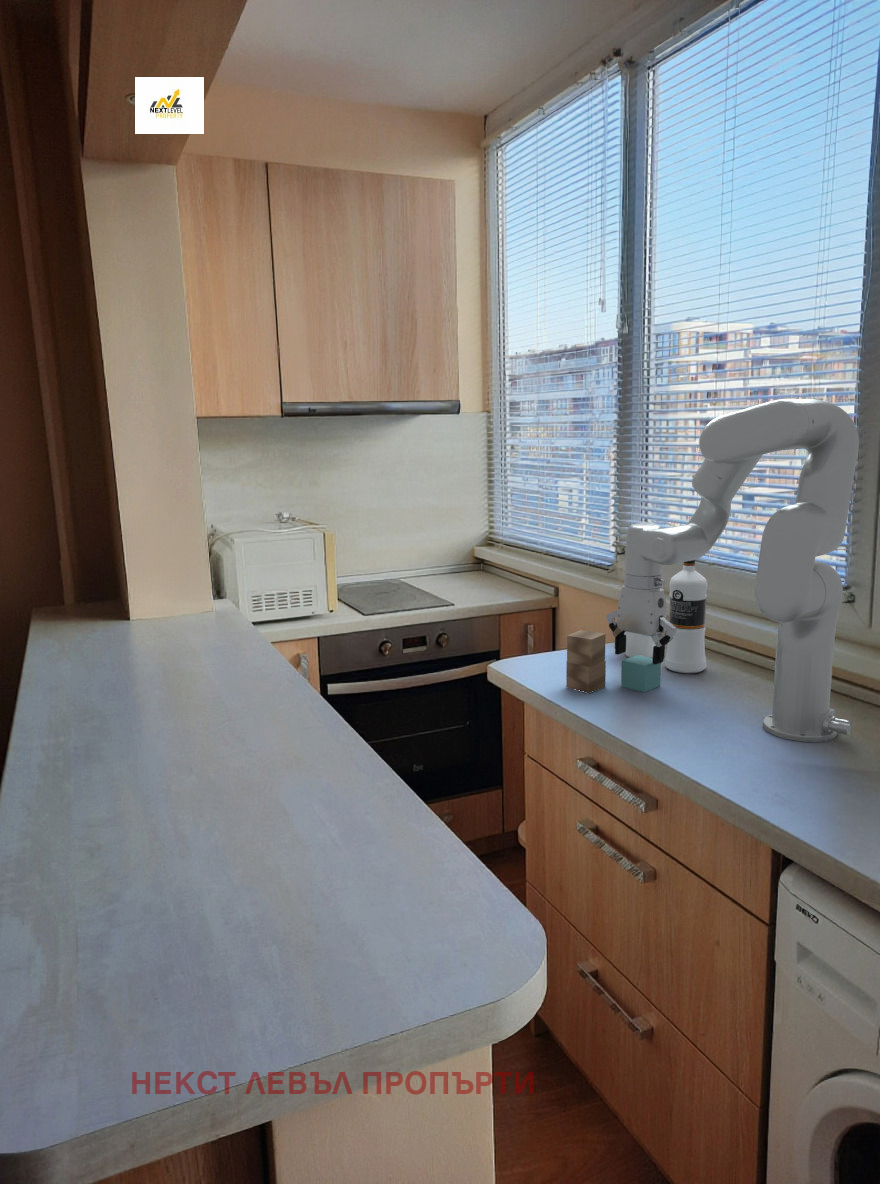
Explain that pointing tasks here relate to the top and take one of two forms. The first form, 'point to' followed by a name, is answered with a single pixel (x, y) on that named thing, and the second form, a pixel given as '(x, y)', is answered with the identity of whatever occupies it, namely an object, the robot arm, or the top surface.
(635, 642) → the cup
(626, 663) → the teal block
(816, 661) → the robot arm
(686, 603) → the vodka
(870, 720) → the top surface
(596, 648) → the tower mid
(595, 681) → the tower base
